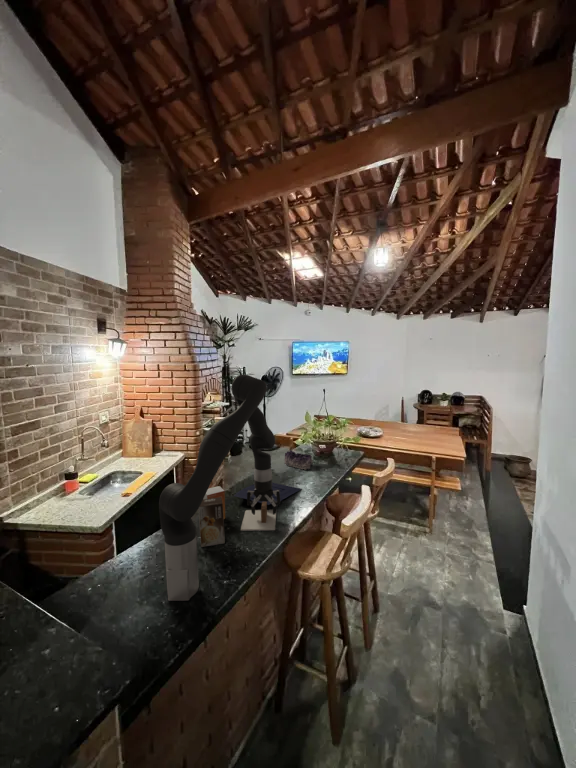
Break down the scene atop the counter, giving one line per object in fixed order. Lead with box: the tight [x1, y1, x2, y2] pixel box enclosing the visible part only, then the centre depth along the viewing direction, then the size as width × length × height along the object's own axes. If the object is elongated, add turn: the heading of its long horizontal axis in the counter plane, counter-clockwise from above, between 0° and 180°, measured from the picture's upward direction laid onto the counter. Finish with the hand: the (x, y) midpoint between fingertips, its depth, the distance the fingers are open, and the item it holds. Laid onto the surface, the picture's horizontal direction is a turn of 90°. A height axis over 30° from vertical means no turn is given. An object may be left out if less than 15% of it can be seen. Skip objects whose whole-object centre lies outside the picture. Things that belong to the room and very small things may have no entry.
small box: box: [203, 485, 226, 520], centre depth 144 cm, size 8×6×13 cm
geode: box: [283, 449, 313, 471], centre depth 207 cm, size 20×12×10 cm, turn 59°
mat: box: [240, 509, 277, 532], centre depth 142 cm, size 16×14×1 cm
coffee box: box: [198, 497, 226, 548], centre depth 126 cm, size 9×6×16 cm
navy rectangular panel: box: [233, 481, 302, 506], centre depth 166 cm, size 24×30×4 cm
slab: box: [260, 502, 268, 523], centre depth 142 cm, size 2×6×7 cm
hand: (263, 513), depth 142 cm, fingers open, 8 cm apart
